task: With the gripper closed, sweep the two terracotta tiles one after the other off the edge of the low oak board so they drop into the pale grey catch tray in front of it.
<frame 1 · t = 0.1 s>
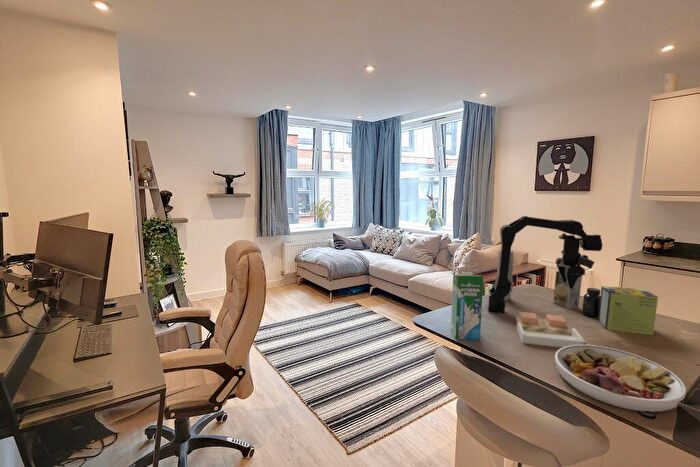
hand: (567, 285, 147), 15 cm above the table, fingers open, 9 cm apart
tile 1: (528, 320, 141), point 2 cm above the table, touching oak board
milk carton: (464, 334, 133), on the table
coffee box: (565, 305, 164), on the table
water bottle: (504, 299, 173), on the table
oak board: (541, 327, 139), on the table
tile 2: (555, 323, 138), point 2 cm above the table, touching oak board
supplement bottle: (591, 315, 152), on the table
protein box: (623, 328, 139), on the table
bowl: (612, 384, 101), on the table
catch tray: (548, 339, 128), on the table
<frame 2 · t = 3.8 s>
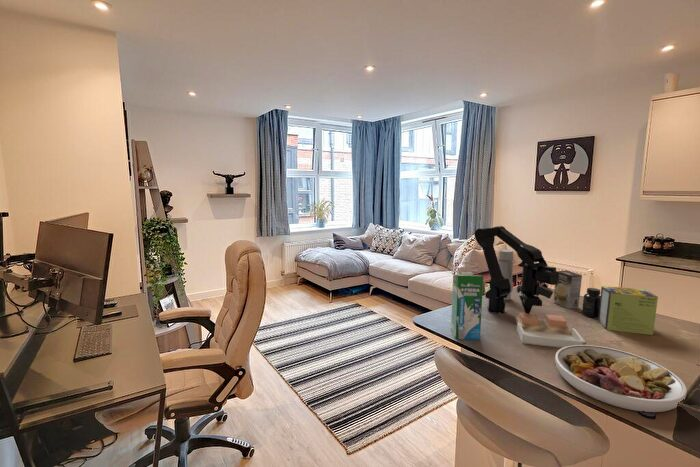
hand: (527, 314, 143), 4 cm above the table, fingers closed
tile 1: (528, 321, 140), point 2 cm above the table, touching gripper, oak board
everything else where it was.
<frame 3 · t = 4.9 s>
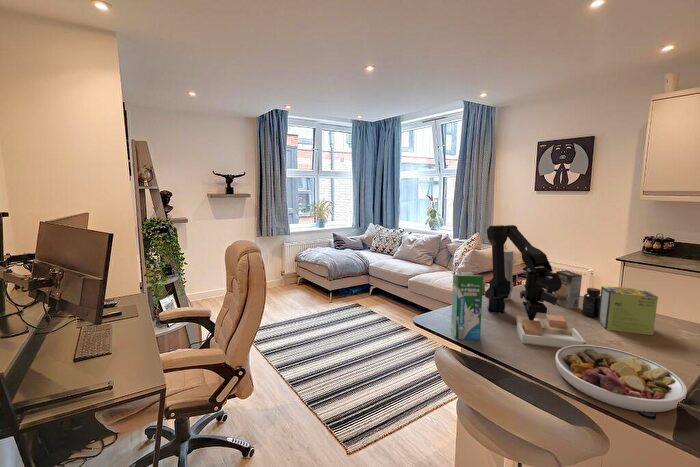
hand: (531, 321, 136), 4 cm above the table, fingers closed
tile 1: (531, 330, 134), point 1 cm above the table, tilted 19°, touching gripper
everything else where it was.
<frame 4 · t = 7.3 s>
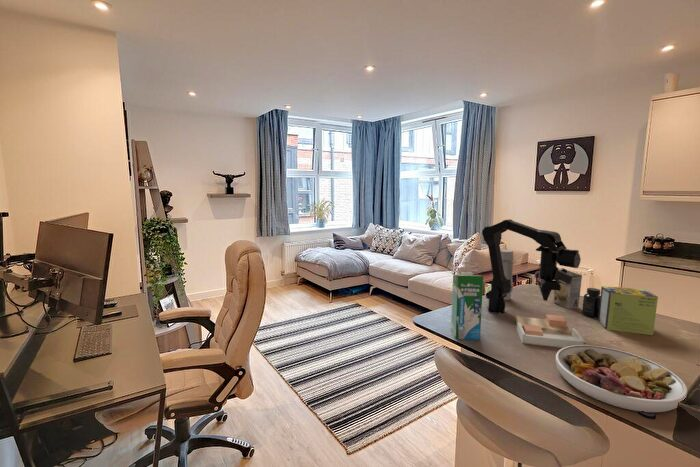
hand: (545, 300, 139), 11 cm above the table, fingers closed
tile 1: (532, 334, 132), resting on catch tray
everything else where it was.
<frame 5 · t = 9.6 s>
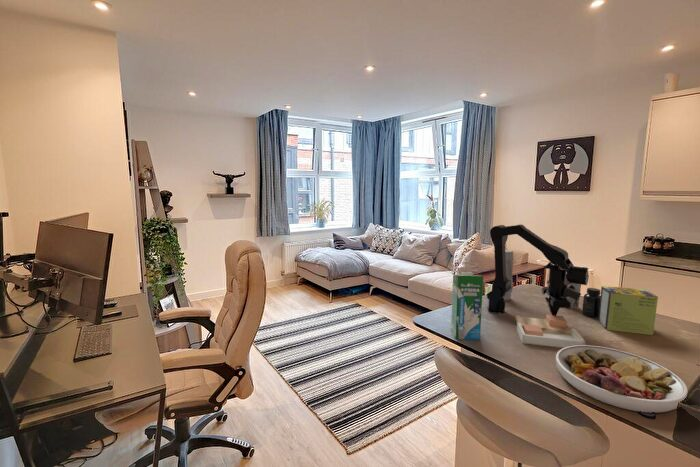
hand: (553, 316, 141), 4 cm above the table, fingers closed
tile 2: (555, 323, 138), point 2 cm above the table, touching gripper
everything else where it was.
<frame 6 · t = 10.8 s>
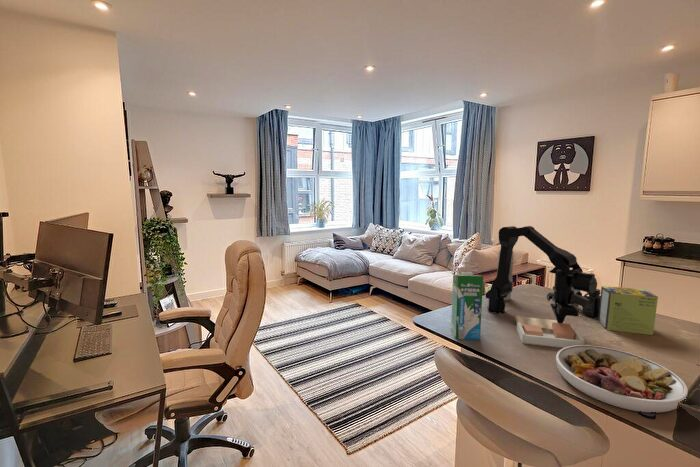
hand: (559, 324, 133), 4 cm above the table, fingers closed
tile 2: (562, 333, 130), point 1 cm above the table, tilted 19°, touching catch tray, gripper
everything else where it was.
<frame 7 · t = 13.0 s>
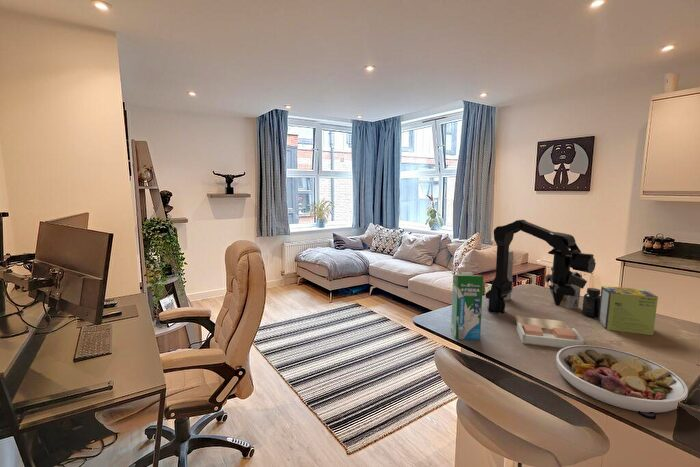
hand: (557, 305, 134), 11 cm above the table, fingers closed
tile 2: (563, 337, 129), resting on catch tray
everything else where it was.
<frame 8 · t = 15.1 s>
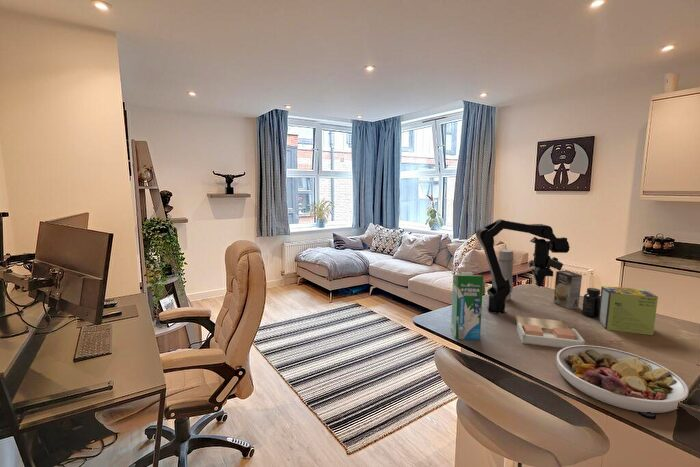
hand: (539, 286, 154), 12 cm above the table, fingers closed
nothing on the table moved.
at the end: tile 1 inside the target area (5.7 cm from its centre), resting on catch tray; tile 2 inside the target area (5.9 cm from its centre), resting on catch tray; tile 1 touching catch tray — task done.
